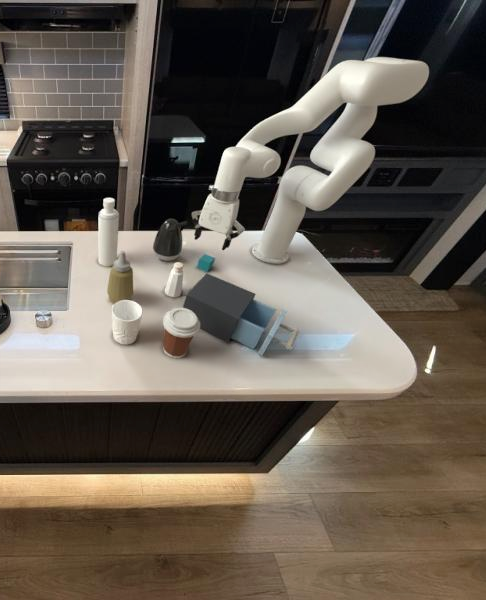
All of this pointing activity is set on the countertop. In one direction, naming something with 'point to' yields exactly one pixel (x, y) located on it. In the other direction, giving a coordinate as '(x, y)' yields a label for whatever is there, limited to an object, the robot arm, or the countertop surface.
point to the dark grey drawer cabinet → (217, 305)
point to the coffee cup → (179, 331)
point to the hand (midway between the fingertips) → (210, 243)
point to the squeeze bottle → (120, 280)
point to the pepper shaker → (175, 281)
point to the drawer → (260, 327)
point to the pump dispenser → (168, 240)
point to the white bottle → (108, 233)
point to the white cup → (126, 321)
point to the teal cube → (205, 262)
